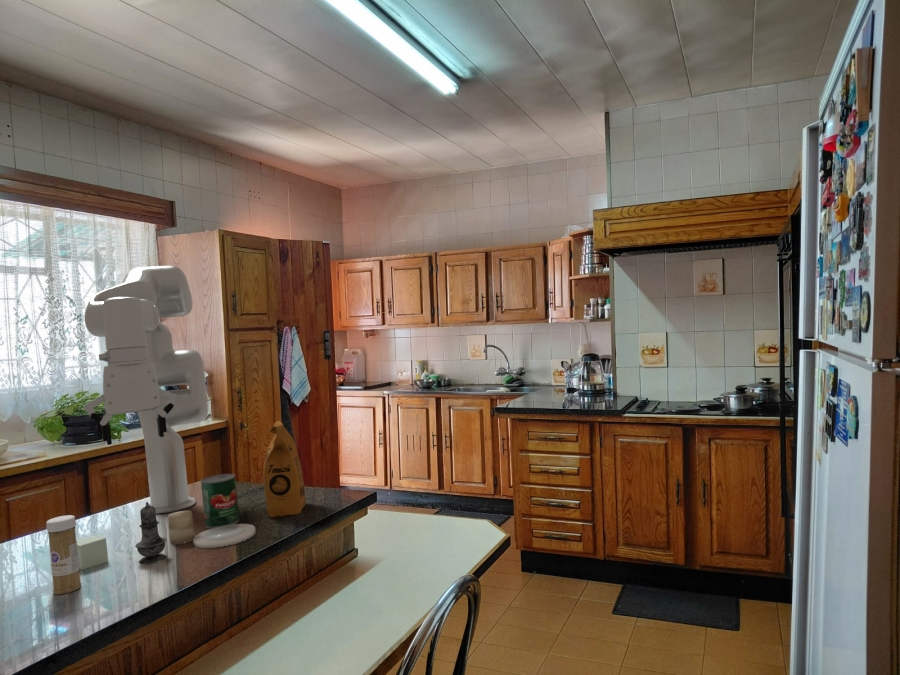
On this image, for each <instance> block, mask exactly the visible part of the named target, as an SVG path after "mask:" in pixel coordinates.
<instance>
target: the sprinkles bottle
mask: <svg viewBox="0 0 900 675" xmlns="http://www.w3.org/2000/svg"><path fill="white" fill-rule="evenodd" d="M76 525H77V524H76V517H75V515H71V514H69V515H68V514H67V515H60V516H56V517H54V518H49V519H48V520H47V521H46V532H47V535H48V541H49V552H50V569H51V576H52V586H53V590H52V593H54V594H55V595H63V594H65V595H66V594H69V593H72V592H74V591H76V590H78V589H79V588H81V587H82V583H81V575H80V569H79V559H78V550H77V541H76V540H77V536H76Z"/></svg>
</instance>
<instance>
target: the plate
mask: <svg viewBox="0 0 900 675" xmlns="http://www.w3.org/2000/svg"><path fill="white" fill-rule="evenodd" d="M255 535H256V527H255V525H253V524H250V523H235V524H232V525H225V526H220V527H216V528H208V529H206V530H204V531H201V532H199V533H198V534H196V535H194V538H193V540H192V543H193V546H194V545H195V547H196V548H198V547H199V548H198V549H217V547H219V548H223V547H224V546H225V547H229V545H230V546H233V544H234V545H237V544H240V543H243V542H245V541H247V539H248V540H250V539H251V538H252V537H254V536H255ZM242 541H243V542H242ZM225 547H224V548H225Z"/></svg>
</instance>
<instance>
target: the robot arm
mask: <svg viewBox="0 0 900 675" xmlns="http://www.w3.org/2000/svg"><path fill="white" fill-rule="evenodd" d="M193 303H194V302H193V296H192V293H191V289H190V286H189V282H188V279H187V277H186V274H185V272H184V271H183V270H182V269H181V268H180V267H178V266H176V265H160V266H159V265H156V266H141V267H134V268H133V269H131V270H129V271H128V272H127V273H126V274H125V276H124V278H123V280H122V282H121V283H120V284H118V285H115V286H113V287H110V288H108V289H105V290H102V291H98V292H97V293H95V294H94V295H93V296H92V297H91V298H90V300H89V302H88V303H87V306H86V308H85V312H84V324H85V327H86V329H87V332H88V333H90V334H91V335H92V336H95V337H98V338H102V337H103V338H105V350H106V351H105V352H104V353H99V354H98V361H99V362H102V361H103V362H106V363H107V365H106V366H105V365H104V366H103V373H102V377H103V378H102V394H101V395H99V396H97V397H96V398H95V399H94V398H93V399H92V400H90V401H89V402H88V403H86V404H84V405H83V409H84V410H85V412H86V413H87V414H88V416H89V417H90V418H91V419H92V420H94V421H95V422H96V423H98V424H99V425H101V434H102V442H106V445H107V446H111V445H112V431H111V425H110V423H109V422H110V420H111V419H112V417H113V416H114V415H126V414H131V413H137V414H138V418H139V422H140V426H141V429H142V436H143V440H144V448H145V449H144V450H145V459H146V460H145V461H146V468H147V477H148V478H147V480H148V487H149V488H148V489H149V499H150V503H149V504H148V505H150V506H153V507H154V508H155V510H156V515H157V514H165V513H174V512H178V511H182V510H185V509H187V508H190V507H192V506H193V505H195V503H196V498H195V497H193V496H190V495H189V488H188V486H189V485H188V479H187V478H188V476H187V467H186V466H187V465H186V457H185V456H186V454H185V445H184V441H183V438H182V436H181V435H180V434H179V433H178V432H177V431H175V430H174V429H173V428H172V427H174V426H175V427H176V426H180V425H181V426H182V425H187V424H188V425H189V424H196V423H200V422H203V421H205V420H206V418H208V417H207V416H208V411H209V405H208V396H207V395H208V394H207V384H206V374H205V367H204V362H203V358H202V356H201V353H199V351H197V350H195V349H178V350H174V346H173V335H172V332H171V331H170V329H169V328H168V327H167V326H166V325H165V324H163V322H162V321H161V319H163V318H164V319H167V318H178V317H179V318H180V317H185V316H188V315H190V313H191V311H192V309H193ZM180 385H181V386H182V385H185V386H187V387H188V388H184V389H174V390H164V389H162V388H161V387H171V386H180ZM102 403H103V406H104V411H105V413H104V415H103V416H101V415H99V414H98V413H96V411H95V407H96V406H98V405H100V404H102Z"/></svg>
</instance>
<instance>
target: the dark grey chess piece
mask: <svg viewBox="0 0 900 675" xmlns="http://www.w3.org/2000/svg"><path fill="white" fill-rule="evenodd" d="M149 504H150V503H149V502H148V501H146V502H145V506H144V507H142V508H141V509H140V511H139V513H140V514H139V515H140V523H141V524H140V525H139V528H141V539H140V541H139V542H137V543H136V544H135V546H134V547H135V548H136V549H137V552H138V554H139V555H140V556H142V558H141V559H139V560H138V564H139V563H140V564H139V565H142V564H146V565H152V563H153V564H156V563H155V562H157V563H159V562H158V561H160V562H162V561H164V560H165V559H167V558H168V556H167V555H166V554H164V553H162V552H163V551H164V549H165V547H166V542H167V538H165V537H161V536H160V533H159V527H158V524H159V523H160V522H159V520H158V519H157V514H156V510H155V508H154V507H153V506H150V505H149ZM161 560H162V561H161Z"/></svg>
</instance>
